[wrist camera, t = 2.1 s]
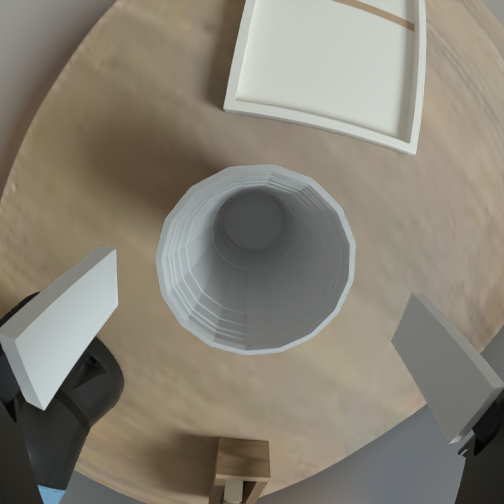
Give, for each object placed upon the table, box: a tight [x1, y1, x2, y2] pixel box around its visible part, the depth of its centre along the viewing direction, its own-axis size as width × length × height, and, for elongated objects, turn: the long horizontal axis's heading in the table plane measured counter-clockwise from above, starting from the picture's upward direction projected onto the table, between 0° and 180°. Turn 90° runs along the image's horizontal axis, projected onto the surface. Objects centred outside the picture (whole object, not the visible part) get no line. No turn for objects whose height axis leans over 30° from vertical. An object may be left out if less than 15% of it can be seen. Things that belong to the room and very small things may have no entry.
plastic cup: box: [155, 164, 356, 355], centre depth 20 cm, size 11×11×12 cm
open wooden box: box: [209, 437, 270, 504], centre depth 39 cm, size 8×29×7 cm, turn 171°
